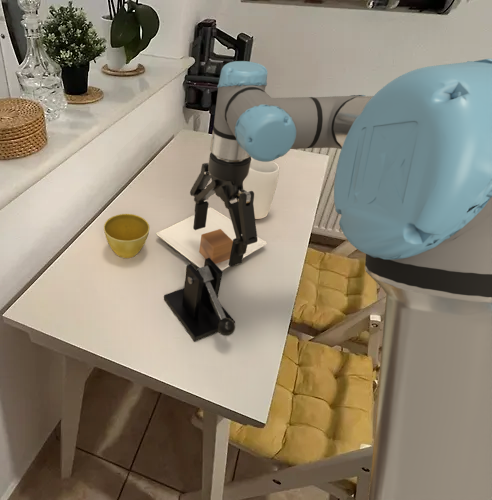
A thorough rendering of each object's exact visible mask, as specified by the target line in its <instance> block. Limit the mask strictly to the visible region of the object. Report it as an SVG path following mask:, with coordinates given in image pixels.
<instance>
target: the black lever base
mask: <svg viewBox="0 0 492 500" xmlns="http://www.w3.org/2000/svg"><path fill="white" fill-rule="evenodd" d="M207 265H208V267H209V269H210V271H211V274H212V276H213V278H214V279H213V280H212V281H211V285H212V287H213V289H214V291H215V294H216V296H217V298H218V299H219V294H220V289H221V283H222V277H223V274H224V273H223V272H224V271H221V270H220V269H219V267H218V266H217V265H216V264H215V263H214V262H213V261H212V260H211V259H210V258H207V259H205V263H204V266H207ZM203 281H204V278H203V277H202V276H201V275H200V274H199V272H198V271H197V268H196V267H194V264H193V263H189V264H187V265H186V268H185V277H184V284H183V288H180V289H177V290H174V291H172V292H169V293H166V294H164V295H163V300H164V302H165V303H166V304H167V306H168V307H169V308H170V310H171V311H172V312H173V314H174V316H175V317H176V318H177V319H178V321H179V322H180V324H181V325H182V327H183V328H184V329H185V331H186V332H187V333H188V335H189V336H190V338H191V339H192V340H193V342H197V341H200V340H202V339H205V338H208V337H210V336H212V335H215V334H217V333H219V332H218V330H217V323H218V322H219V319H218V317H217V315H216V312H215V310H214V308H213V306H212V303H211V301H210V299H209V296H208V294H207V292H206V290H205V287H204V285H203ZM220 305H221V307H222V309H223V312H224V314H225V316H226V318H229V319H231V320H232V321H233V322H234V324H235V323H236V321H235V320H234V318H233V317H232V316H231V315H230V314H229V312H228V310H226V309H225V308H224V306H223V305H222V304H221V303H220ZM235 325H236V324H235Z"/></svg>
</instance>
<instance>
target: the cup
mask: <svg viewBox="0 0 492 500" xmlns="http://www.w3.org/2000/svg"><path fill="white" fill-rule="evenodd" d="M280 169H281V167H280V166H279V163H277V162H276V161H275V160H273V161H269V162H262V161H258V160H255V159H253V158H251V163H250V168H249V173H248V175H247V177H246V178H245V179H244V181H243V189H244V190H245V191H247V192H249V191H253V192H254V201H253V206H254V215H255V220H256V219H258V220H259V219H264V218H265V217H267V216H268V215H269V213H270V210H271V206H272V203H273V200H274V197H275V193H276V189H277V186H278V182H279V181H278V180H279V175H280Z"/></svg>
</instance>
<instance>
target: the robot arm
mask: <svg viewBox="0 0 492 500" xmlns="http://www.w3.org/2000/svg"><path fill="white" fill-rule="evenodd" d="M267 86H268V69H267V68H266V66H264V65H263V64H261V63H258V62H253V61H246V60H237V61H235V60H234V61H230V62H228V63H226V64H224V65H223V66H222V68H221V70H220V75H219V80H218V84H217V86H216V87H217V95H216V103H215V110H214V111H215V112H214V120H213V128H212V132H211V133H212V134H211V141H210V146H209V147H210V148H209V149H210V153H209V158H208V162H205V163H202V164H201V168H200V173H199V174H198V176H197V177H196V180H195V181H194V183H193V185H192V187H191V189H190V191H189V195H190V196H191V197H193V201H194V203H195V204H194V215H195V218H194V226H193V229H194V230H197V229H201V228H204V227H205V226H206V218H207V211H208V208H209V202H208V200H209V198H210V197H212V196H213V195H214V194H215V196H216V197H218V198H220V200H221V201H222V202H223V204H224V206H225V208H226V209H227V210H228V213H229V217H230V219H231V221H232V224H233V228H234V232H235V235H236V238H235V239H233V244H232V249H231V254H230V259H229V267H235V266H237V265H241V264H242V263H243V260H244V258H243V254H245V253H246V249H247V245H249V244H252V243H255V242H257V237H258V232H257V224H256V219H255V215H254V206H253V201H254V192H253V191H249V192H247V191H245V190H244V189H243V181H244V179H245V178H246V177H247V175H248V173H249V168H250V163H251V159H255V160H258V161H262V162H269V161H275V160H277V159H280V158H281V157H283V156H286V155H287V154H288V152H289V151H291V150H303V149H304V150H305V149H338V150H340V153H339V156H338V158H337V159H338V160H337V163H336V169H335V173H334V180H333V181H334V183H333V184H334V185H333V202H334V209H335V212H336V214H338V215H341V216H340V218H339V221H338V225H339V227H340V230H341V232H342V233H343V235H344V237H345V238H346V240H347V242H349V244H350V245H352V246H353V247H354V248H355V249H356V250H358V252H361V253H363V254H364V255H365V263H364V270H365V272H366V273H367V275H368V276H369V277H370V278H371V279H373V281H374V282H375V283H376V284H377V285H378V286H379V287H380V288H381V289H382V290H383V292H384V293H385V304H384V316H383V328H382V340H381V351H380V362H379V375H378V376H379V377H378V386H377V387H378V388H377V397H376V398H377V399H376V411H375V420H374V421H375V423H374V435H373V446H372V458H371V469H370V481H369V494H368V500H492V58H484V59H479V60H467V61H466V62H456V63H455V62H454V63H448V64H447V63H446V64H438V65H437V64H436V65H430V66H424V67H420V68H416V69H413V70H410V71H407V72H405V73H403V74H401V75H399V76H397V77H396V78H394V79H393V80H391V81H390V82H388V83H387V84H385V85H384V86H382V87H381V89H379V90H378V91H377V92H376V93H375V94H374V95H364V94H356V95H355V94H353V95H335V96H299V97H298V96H297V97H296V96H295V97H294V96H293V97H272V96H270V95H269V94H268V93H267V92H266V87H267ZM210 181H211V182H210ZM209 182H210V183H209ZM235 200H236V201H235ZM232 201H234V202H232ZM241 235H242V236H241Z"/></svg>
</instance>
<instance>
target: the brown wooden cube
mask: <svg viewBox="0 0 492 500" xmlns="http://www.w3.org/2000/svg"><path fill="white" fill-rule="evenodd" d="M232 244H233V241H232V240H231V239H230V238H229V237H228V236H227V235H226V234H225V233H224V232H223V231H222V230H221V229H218V230H215V231H212V232H209V233H205V234H202V235H201V242H200V249H199V252H200V254H201V255H202V256H203V257H204V258H205V259H207V258H210V259H211V260H212V261H213V262H214V263H215V264H217V263H220V262H223V261H226V260H229V259H230V254H231V249H232Z"/></svg>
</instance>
